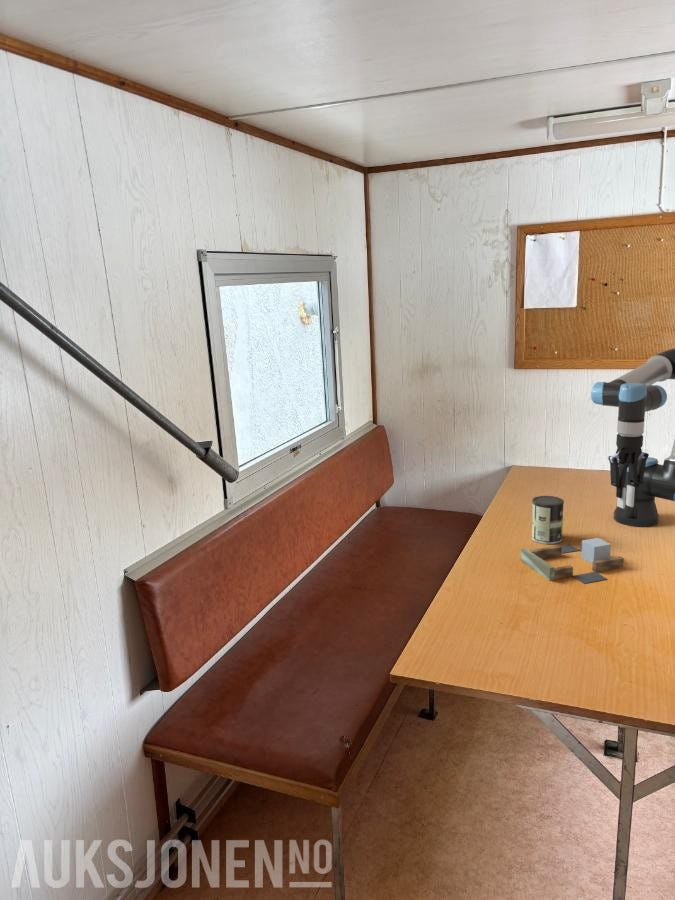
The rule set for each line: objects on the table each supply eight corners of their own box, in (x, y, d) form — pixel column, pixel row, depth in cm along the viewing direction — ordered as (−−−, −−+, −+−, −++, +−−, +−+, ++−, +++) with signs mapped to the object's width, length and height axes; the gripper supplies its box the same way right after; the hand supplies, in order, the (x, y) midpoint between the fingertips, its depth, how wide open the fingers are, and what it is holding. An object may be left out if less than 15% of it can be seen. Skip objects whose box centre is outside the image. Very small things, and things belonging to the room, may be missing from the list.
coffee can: (560, 534, 235) (562, 495, 231) (563, 545, 225) (565, 505, 222) (530, 532, 237) (531, 495, 234) (532, 543, 227) (533, 504, 224)
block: (597, 555, 216) (598, 537, 215) (609, 562, 210) (610, 544, 209) (581, 557, 214) (582, 540, 213) (593, 564, 209) (594, 547, 207)
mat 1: (569, 544, 225) (569, 544, 225) (579, 550, 220) (579, 550, 220) (548, 548, 223) (548, 547, 223) (558, 554, 218) (558, 553, 218)
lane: (590, 548, 221) (590, 537, 220) (623, 567, 206) (623, 555, 205) (520, 560, 214) (520, 548, 213) (549, 580, 199) (549, 568, 198)
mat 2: (595, 572, 203) (595, 571, 203) (607, 579, 198) (607, 578, 198) (572, 576, 201) (572, 575, 201) (584, 583, 196) (584, 583, 196)
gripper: (642, 429, 211) (637, 500, 217) (600, 434, 207) (596, 506, 213) (660, 433, 204) (654, 506, 210) (616, 438, 200) (612, 513, 206)
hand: (625, 506), depth 211 cm, fingers open, 3 cm apart
